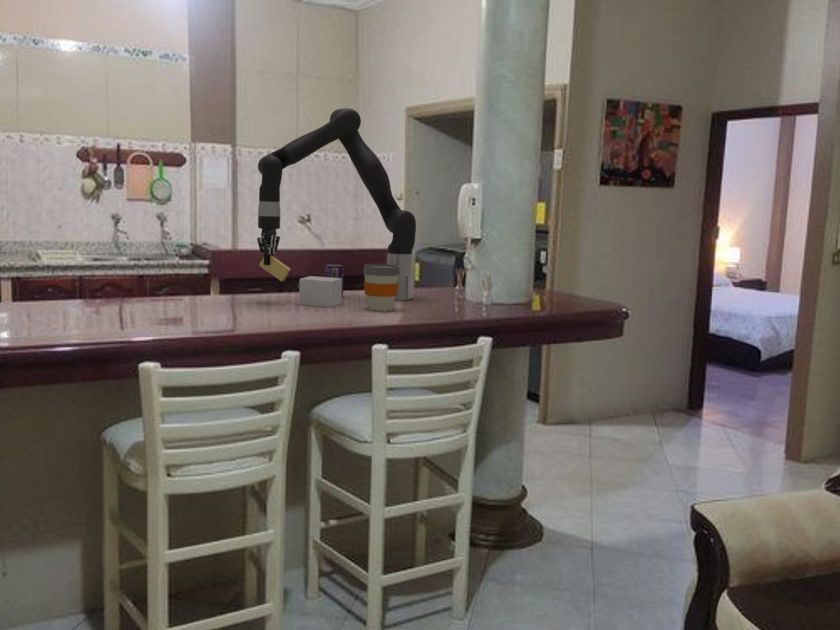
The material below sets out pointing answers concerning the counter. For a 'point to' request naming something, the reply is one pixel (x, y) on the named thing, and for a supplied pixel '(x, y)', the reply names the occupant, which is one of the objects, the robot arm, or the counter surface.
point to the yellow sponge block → (276, 268)
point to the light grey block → (320, 291)
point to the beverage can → (334, 272)
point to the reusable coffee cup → (381, 286)
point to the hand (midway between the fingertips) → (268, 264)
